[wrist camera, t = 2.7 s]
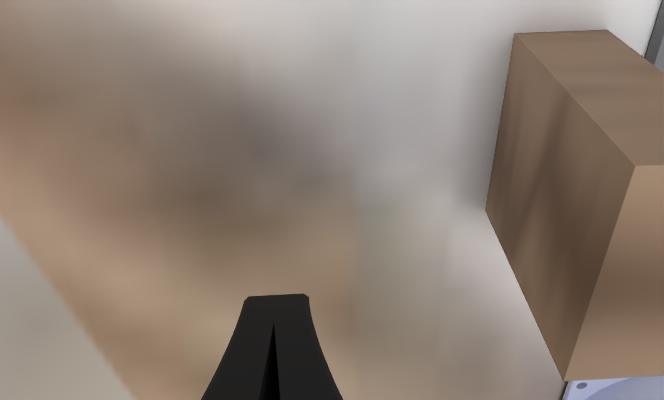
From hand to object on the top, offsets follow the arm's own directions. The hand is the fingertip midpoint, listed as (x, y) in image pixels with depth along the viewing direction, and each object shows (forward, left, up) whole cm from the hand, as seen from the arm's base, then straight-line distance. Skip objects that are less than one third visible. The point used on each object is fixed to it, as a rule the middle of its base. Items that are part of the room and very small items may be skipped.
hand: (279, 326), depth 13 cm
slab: (0, -9, -9) cm, 13 cm away
